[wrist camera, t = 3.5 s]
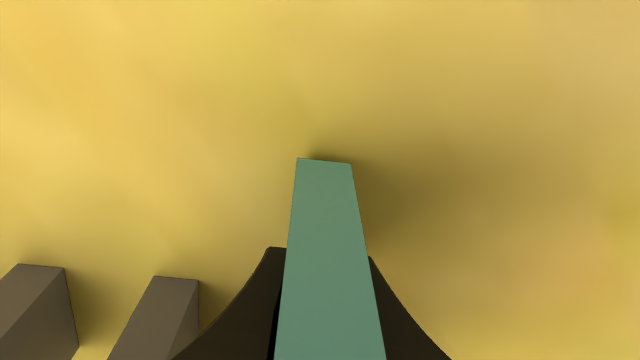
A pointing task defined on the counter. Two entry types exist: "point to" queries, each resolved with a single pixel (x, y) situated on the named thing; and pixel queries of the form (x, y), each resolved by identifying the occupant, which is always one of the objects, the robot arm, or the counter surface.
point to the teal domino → (327, 272)
